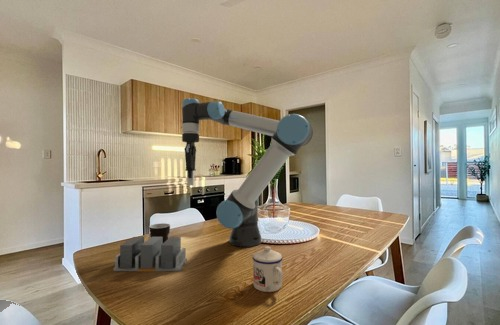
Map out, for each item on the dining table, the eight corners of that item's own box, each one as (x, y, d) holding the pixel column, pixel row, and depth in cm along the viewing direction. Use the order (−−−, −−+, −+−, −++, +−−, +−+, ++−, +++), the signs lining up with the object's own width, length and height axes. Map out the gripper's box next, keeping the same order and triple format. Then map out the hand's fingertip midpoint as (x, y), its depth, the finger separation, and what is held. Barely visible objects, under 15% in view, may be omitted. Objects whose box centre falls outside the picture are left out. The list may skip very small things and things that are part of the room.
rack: (187, 260, 95) (187, 236, 96) (179, 271, 85) (180, 245, 86) (127, 260, 95) (127, 236, 95) (112, 271, 85) (112, 245, 85)
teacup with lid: (247, 282, 78) (247, 245, 78) (271, 276, 82) (271, 240, 82) (268, 301, 67) (268, 257, 67) (294, 292, 72) (294, 252, 72)
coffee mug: (163, 252, 104) (163, 228, 104) (144, 251, 106) (145, 227, 106) (177, 244, 115) (177, 222, 115) (160, 242, 117) (160, 221, 117)
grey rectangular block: (162, 257, 95) (162, 236, 96) (152, 268, 85) (152, 245, 86) (152, 257, 95) (152, 236, 96) (140, 268, 85) (140, 245, 86)
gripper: (186, 135, 120) (185, 184, 120) (178, 131, 107) (178, 186, 107) (201, 135, 120) (201, 184, 120) (195, 131, 107) (195, 186, 107)
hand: (190, 185), depth 114 cm, fingers closed
